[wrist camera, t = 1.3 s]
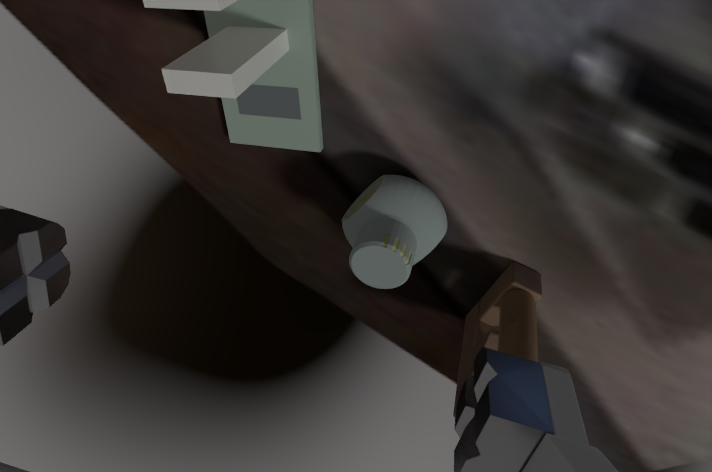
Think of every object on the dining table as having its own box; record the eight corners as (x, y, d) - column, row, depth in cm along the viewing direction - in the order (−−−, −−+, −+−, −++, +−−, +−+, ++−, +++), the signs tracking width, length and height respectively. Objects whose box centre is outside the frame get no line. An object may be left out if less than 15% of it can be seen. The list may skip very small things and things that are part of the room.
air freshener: (395, 254, 57) (376, 317, 50) (340, 211, 56) (311, 270, 48) (463, 202, 51) (453, 265, 43) (403, 150, 49) (381, 207, 41)
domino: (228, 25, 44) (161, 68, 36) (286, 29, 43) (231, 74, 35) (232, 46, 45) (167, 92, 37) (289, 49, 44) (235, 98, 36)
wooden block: (464, 315, 61) (448, 452, 47) (512, 258, 53) (509, 401, 40) (491, 327, 61) (482, 468, 47) (542, 273, 54) (549, 420, 40)
